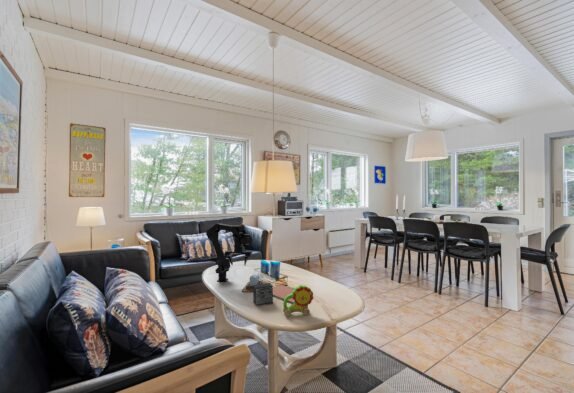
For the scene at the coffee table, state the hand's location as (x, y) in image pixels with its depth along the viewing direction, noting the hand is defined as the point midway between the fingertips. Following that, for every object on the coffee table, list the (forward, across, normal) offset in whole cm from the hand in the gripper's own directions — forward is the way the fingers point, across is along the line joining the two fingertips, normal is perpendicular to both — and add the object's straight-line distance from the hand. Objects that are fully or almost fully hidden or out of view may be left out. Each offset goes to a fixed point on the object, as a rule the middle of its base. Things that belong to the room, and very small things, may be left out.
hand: (238, 265), depth 204 cm
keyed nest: (+13, -13, +7) cm, 20 cm away
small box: (+13, -24, +32) cm, 42 cm away
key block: (+12, -13, +7) cm, 19 cm away
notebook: (+14, -37, +18) cm, 43 cm away
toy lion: (+13, -46, +46) cm, 66 cm away
